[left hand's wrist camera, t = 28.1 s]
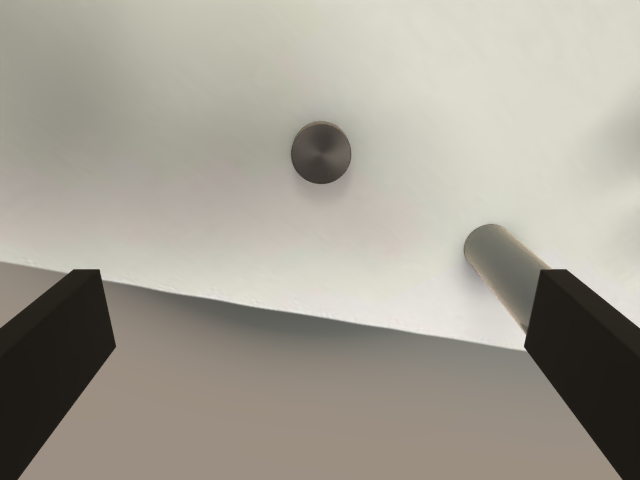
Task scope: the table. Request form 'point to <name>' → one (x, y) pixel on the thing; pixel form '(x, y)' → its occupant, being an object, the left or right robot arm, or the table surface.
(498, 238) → the grey cylinder
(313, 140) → the lid
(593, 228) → the table surface
